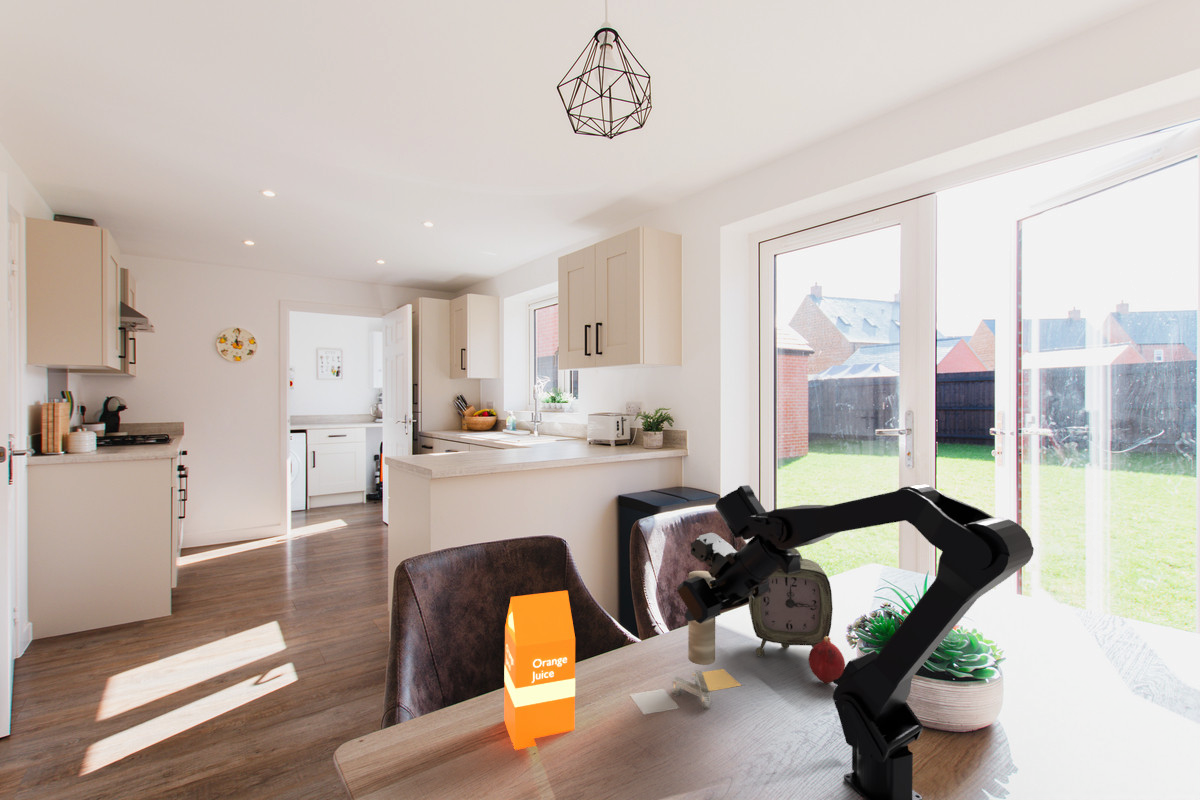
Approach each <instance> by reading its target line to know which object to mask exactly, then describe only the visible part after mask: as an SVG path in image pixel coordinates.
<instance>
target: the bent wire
mask: <svg viewBox="0 0 1200 800" xmlns="http://www.w3.org/2000/svg"><path fill="white" fill-rule="evenodd" d="M694 671H695V672H694V673H693V674H694V675H693V678H694V679H693V683H692V682H689V681H688V680H685V679H683V678H681V677H679V676H674V677H673V678H672V689H671V691H672V695H673V696H675V697H680V696H681V695H682V690H683V691H686V692H688V693H690V694H691V695H694V696H696V697H698V698H700V699H701V700H700V701H701V703H700V704H701V705H700V706H701V709H702V710H705V711H707V710H710V709H711V702H712V701H711V698H712V697H711V696H712V695H711V691H709V690H708V687H707V684H706V682H705V679H704V676H703V674H702V672H703V670H700V669H696V670H694Z"/></svg>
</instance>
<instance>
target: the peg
mask: <svg viewBox="0 0 1200 800" xmlns="http://www.w3.org/2000/svg"><path fill="white" fill-rule="evenodd" d="M708 571H709V570H707V571H706V570H693V571H690V572H689V574H688V579H690V578H693V577H696V576H699V577H702V578H704V579H705V580H706V582H707V583H709V582H710V581H712V580H715V578H712V577H711V575H710V574H709V572H708ZM708 585H709V584H708ZM709 586H710V585H709ZM710 588H711V587H710ZM687 633H688V634H687V635H688V639H687V640H688V641H687V642H688V646H687V648H688V649H687V655H688V656H687V658H688V659H687V660H689V661H690V662H691V663H692V664H695V665H700V666H708V665H712V664H714V663H715V661H716V617H714V618H712V619H710V620H707V621H705V622H703V623H701V624H700V623H698V622H696V621H695V620H694V621H688V632H687Z"/></svg>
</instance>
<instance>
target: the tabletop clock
mask: <svg viewBox="0 0 1200 800" xmlns="http://www.w3.org/2000/svg"><path fill="white" fill-rule="evenodd" d="M791 551H792V552H793V553H795V554H799V555H800V564H801V571H800V572H795V573H790V574H785V573H784V572H783V570H782V568H779V569H778V570H777V571H776V572H775V573H773V574H772V575H771V576H770V577H769V579H770V580H769V581H768V582H769V590H768V591H767V592H766V593H765V594H763V595H762V596H760V597H758V598H756V599H753V597H752V595H753V594H754V593H755V592H756V591H755V590H753V591H752V593H753V594H752V595H750V596H749V602H748V609H749V614H750V618H751V622H752V627H753V631H754V633H755V635H756V637H757V638H759V639H760V640H761V644H760V646H758V647H756V649H755V655H757V656H758V657H763V656H764V655H765V650H764V647H765V646H766V643H767V642H768V643H774V644H775V643H776V644H781V645H780V646H781V647H782V648H783V649H789V648H790V646H811V649H812V648H813V647H814V646H815V645H816V644H818V643H820V642H822V641H823V640H824V637H826V636H827V637H829V635H830V633H831V629H832V620H833V609H834V608H833V595H832V589H831V584H830V581H829V578H828V576H827V574H826V573H825V571H824V570H823V568H822V567H821V565H820V564H819V563H818V562H815V561H814V560H812V559H807V558H803V557H802V556H803V555H801V552H800V551H799V549H797V548H792V549H791Z"/></svg>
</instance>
